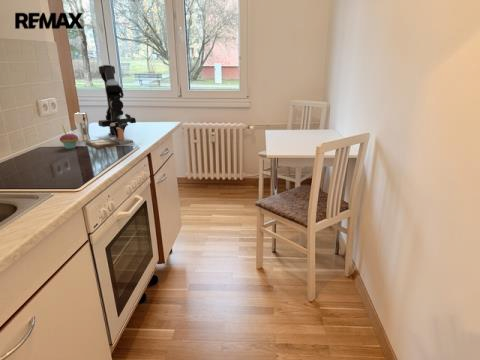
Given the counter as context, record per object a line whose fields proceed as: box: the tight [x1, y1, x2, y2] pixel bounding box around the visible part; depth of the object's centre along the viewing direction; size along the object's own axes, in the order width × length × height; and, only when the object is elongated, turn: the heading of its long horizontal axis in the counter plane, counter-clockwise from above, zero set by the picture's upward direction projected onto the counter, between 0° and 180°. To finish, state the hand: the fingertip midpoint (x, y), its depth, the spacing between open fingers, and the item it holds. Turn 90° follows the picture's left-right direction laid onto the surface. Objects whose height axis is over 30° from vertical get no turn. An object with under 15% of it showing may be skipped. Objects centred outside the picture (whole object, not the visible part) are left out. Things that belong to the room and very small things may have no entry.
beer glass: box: [73, 112, 91, 142], centre depth 186 cm, size 7×7×15 cm
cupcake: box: [59, 124, 79, 150], centre depth 169 cm, size 9×8×12 cm
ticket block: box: [85, 138, 120, 150], centre depth 176 cm, size 16×11×2 cm
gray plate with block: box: [106, 128, 134, 146], centre depth 181 cm, size 16×7×8 cm, turn 44°
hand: (119, 137), depth 182 cm, fingers closed on gray plate with block, 2 cm apart
